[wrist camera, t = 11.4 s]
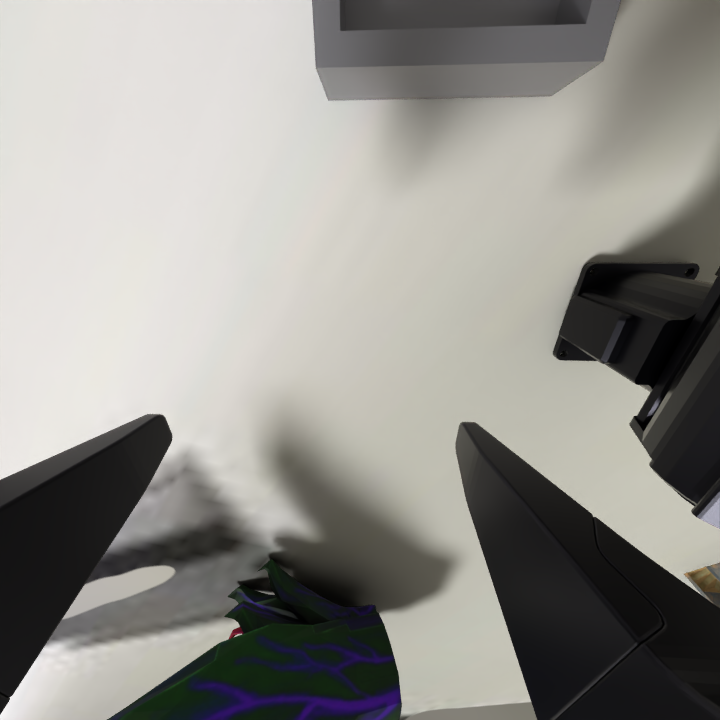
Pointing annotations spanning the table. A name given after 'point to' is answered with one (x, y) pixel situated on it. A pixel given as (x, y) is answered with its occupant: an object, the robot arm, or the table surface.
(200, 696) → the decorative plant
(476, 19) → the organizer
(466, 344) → the table surface
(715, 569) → the architectural model on board
